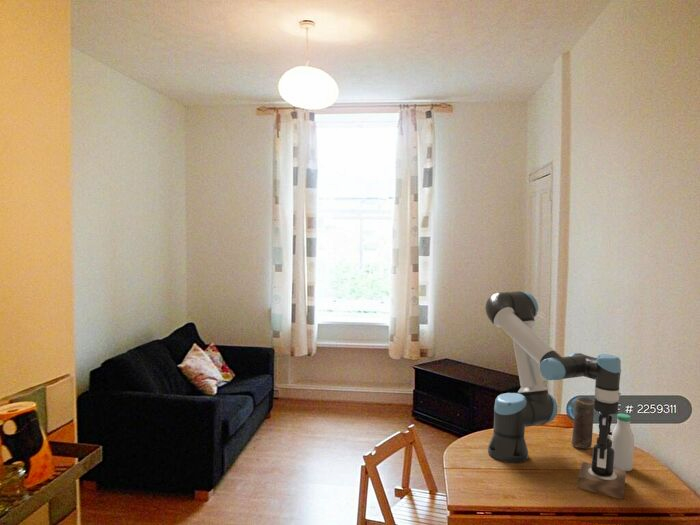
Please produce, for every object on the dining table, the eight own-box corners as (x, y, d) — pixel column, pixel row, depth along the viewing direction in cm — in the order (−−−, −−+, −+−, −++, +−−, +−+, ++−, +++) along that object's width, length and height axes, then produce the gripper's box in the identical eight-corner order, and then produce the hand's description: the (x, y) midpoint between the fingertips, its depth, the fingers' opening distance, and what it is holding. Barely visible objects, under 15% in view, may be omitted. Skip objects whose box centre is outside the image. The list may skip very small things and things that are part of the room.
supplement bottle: (592, 475, 181) (594, 441, 180) (590, 467, 187) (592, 434, 186) (614, 479, 178) (616, 444, 178) (611, 470, 185) (613, 437, 184)
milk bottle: (635, 472, 193) (638, 419, 192) (612, 470, 195) (616, 417, 193) (628, 464, 201) (631, 412, 199) (607, 461, 202) (610, 410, 201)
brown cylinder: (593, 446, 217) (595, 399, 215) (590, 452, 210) (593, 403, 209) (573, 442, 221) (576, 395, 219) (570, 447, 214) (572, 399, 213)
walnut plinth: (577, 487, 180) (578, 475, 180) (582, 472, 192) (582, 460, 192) (623, 499, 173) (623, 486, 173) (625, 482, 185) (625, 470, 185)
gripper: (616, 412, 168) (612, 476, 170) (620, 392, 190) (617, 449, 191) (590, 407, 172) (587, 470, 173) (598, 389, 194) (594, 445, 195)
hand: (603, 459), depth 182 cm, fingers open, 13 cm apart
